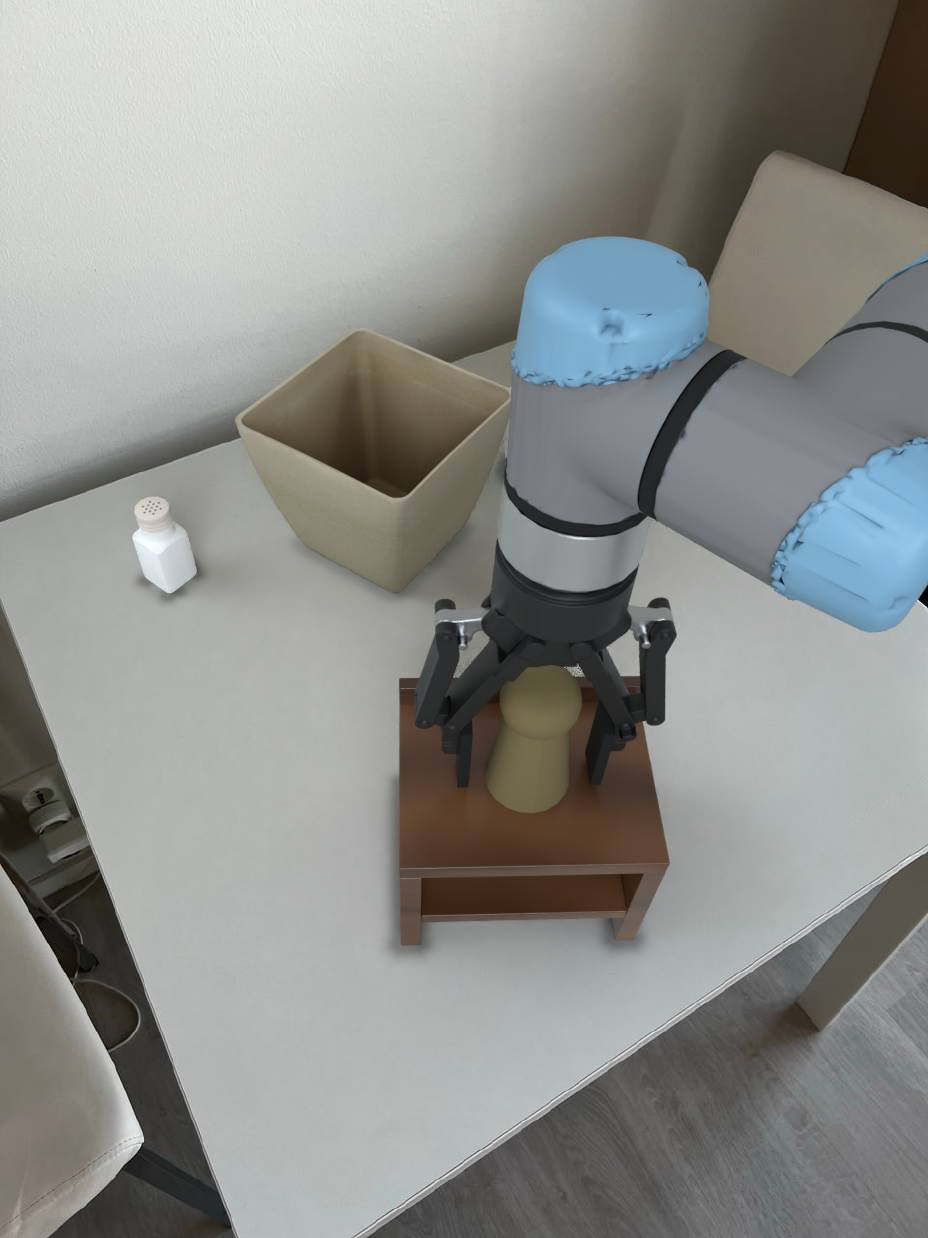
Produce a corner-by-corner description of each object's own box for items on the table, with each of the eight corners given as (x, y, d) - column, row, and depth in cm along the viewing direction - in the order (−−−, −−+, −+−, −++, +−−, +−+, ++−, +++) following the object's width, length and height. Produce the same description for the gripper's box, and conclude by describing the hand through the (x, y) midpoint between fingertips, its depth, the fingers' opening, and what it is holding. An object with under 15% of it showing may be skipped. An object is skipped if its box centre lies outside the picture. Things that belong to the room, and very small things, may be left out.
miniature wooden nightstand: (633, 940, 73) (676, 850, 61) (400, 946, 72) (398, 855, 60) (608, 781, 82) (642, 675, 70) (401, 784, 81) (399, 677, 69)
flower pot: (253, 548, 98) (228, 418, 85) (365, 451, 108) (358, 321, 95) (402, 632, 92) (400, 505, 79) (506, 519, 102) (519, 391, 89)
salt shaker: (170, 597, 93) (149, 529, 86) (142, 578, 95) (120, 509, 87) (200, 574, 95) (183, 505, 88) (173, 556, 97) (153, 486, 89)
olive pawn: (492, 730, 69) (504, 637, 60) (574, 747, 68) (597, 654, 60) (476, 803, 65) (486, 713, 57) (563, 821, 65) (586, 733, 56)
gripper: (753, 494, 52) (667, 722, 69) (363, 493, 51) (376, 726, 68) (789, 598, 47) (687, 815, 65) (359, 600, 46) (374, 820, 63)
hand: (527, 769), depth 66 cm, fingers open, 8 cm apart
